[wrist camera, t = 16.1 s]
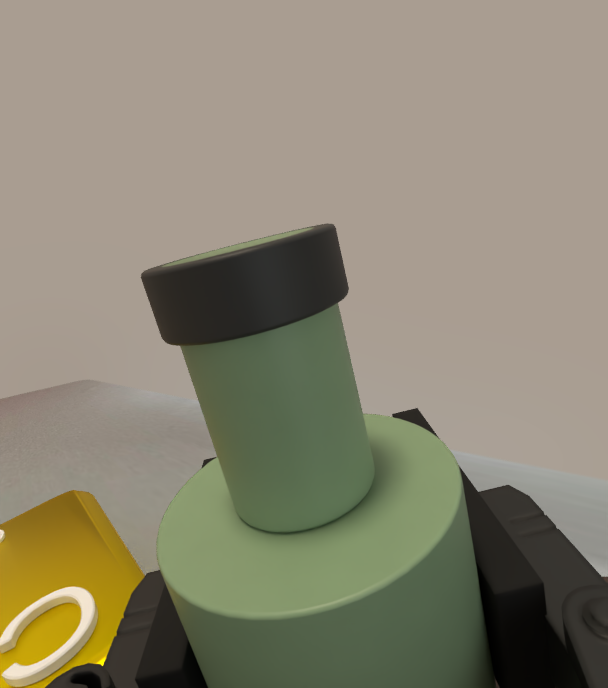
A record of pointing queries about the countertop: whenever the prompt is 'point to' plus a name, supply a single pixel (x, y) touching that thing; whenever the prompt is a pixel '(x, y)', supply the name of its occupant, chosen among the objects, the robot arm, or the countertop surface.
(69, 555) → the element tile
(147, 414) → the countertop surface
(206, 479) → the bottle
